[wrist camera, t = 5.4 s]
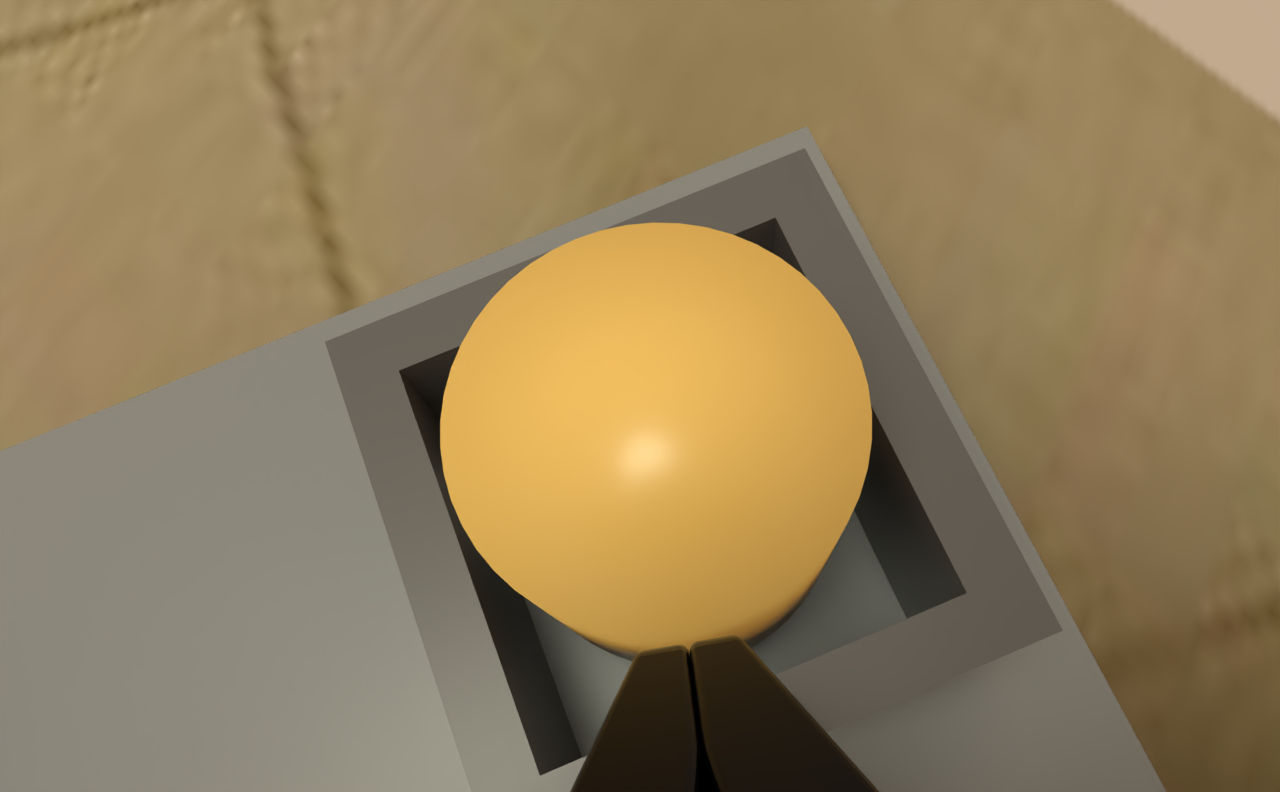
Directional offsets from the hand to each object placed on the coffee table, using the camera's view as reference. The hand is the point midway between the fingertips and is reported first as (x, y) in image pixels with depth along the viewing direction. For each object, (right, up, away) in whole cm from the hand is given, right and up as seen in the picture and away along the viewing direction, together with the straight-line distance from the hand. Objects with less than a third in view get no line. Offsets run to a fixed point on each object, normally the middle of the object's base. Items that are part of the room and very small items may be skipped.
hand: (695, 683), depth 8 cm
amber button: (0, +1, +6) cm, 6 cm away
